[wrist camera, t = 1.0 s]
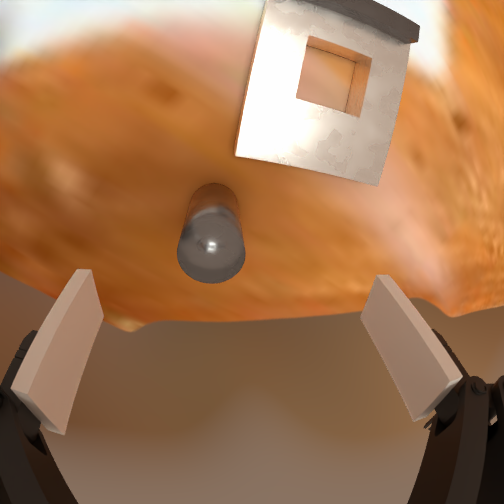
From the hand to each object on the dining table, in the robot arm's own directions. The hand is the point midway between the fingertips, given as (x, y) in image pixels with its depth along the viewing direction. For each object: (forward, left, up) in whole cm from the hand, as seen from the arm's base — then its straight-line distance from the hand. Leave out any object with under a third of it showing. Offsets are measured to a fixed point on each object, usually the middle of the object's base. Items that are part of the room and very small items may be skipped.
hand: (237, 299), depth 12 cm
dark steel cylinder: (-1, -2, -18) cm, 18 cm away
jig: (+7, +13, -18) cm, 23 cm away
